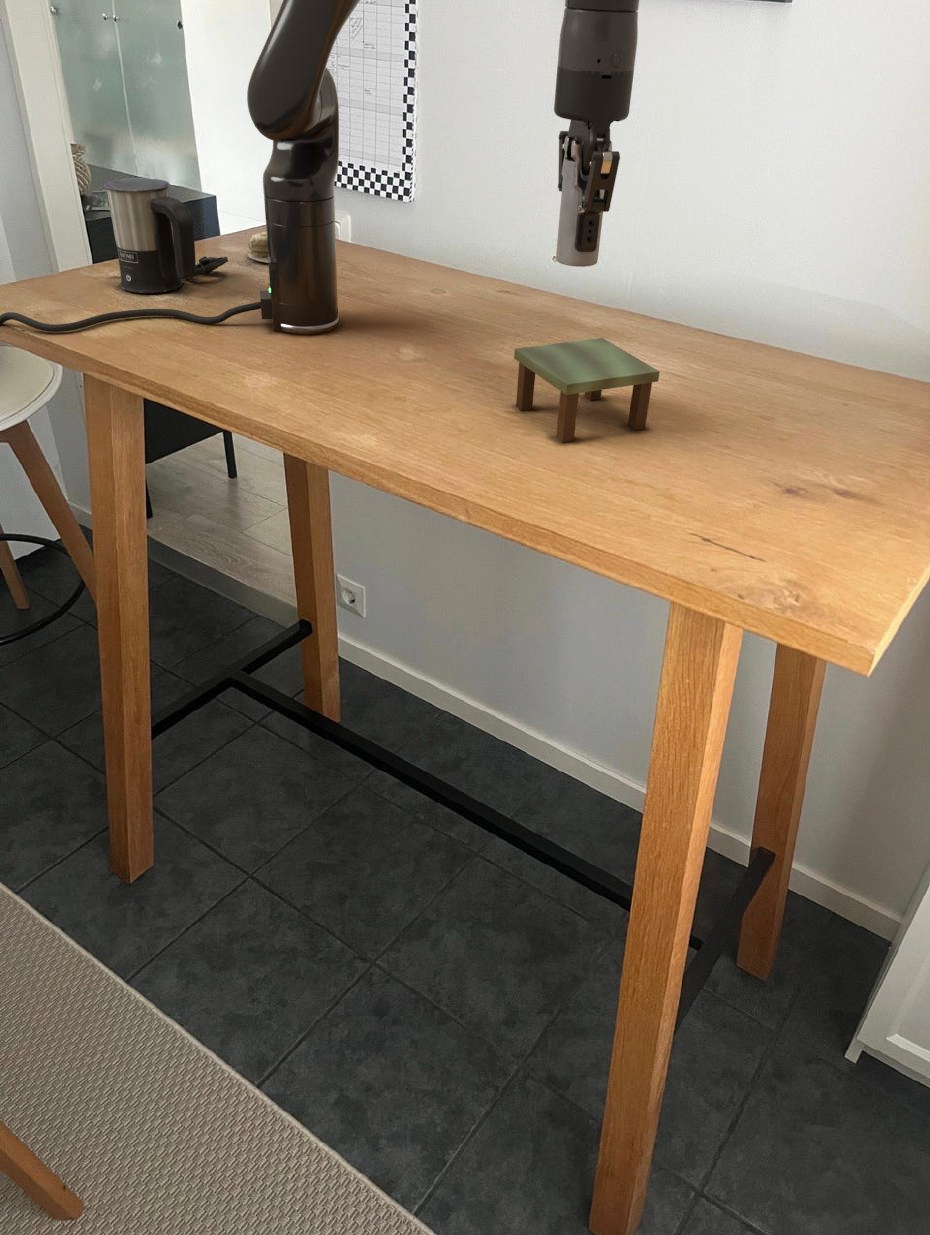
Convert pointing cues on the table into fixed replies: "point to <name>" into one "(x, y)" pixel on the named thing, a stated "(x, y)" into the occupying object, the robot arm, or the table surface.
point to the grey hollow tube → (572, 223)
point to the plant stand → (584, 378)
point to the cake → (258, 247)
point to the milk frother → (153, 236)
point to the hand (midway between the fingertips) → (578, 244)
